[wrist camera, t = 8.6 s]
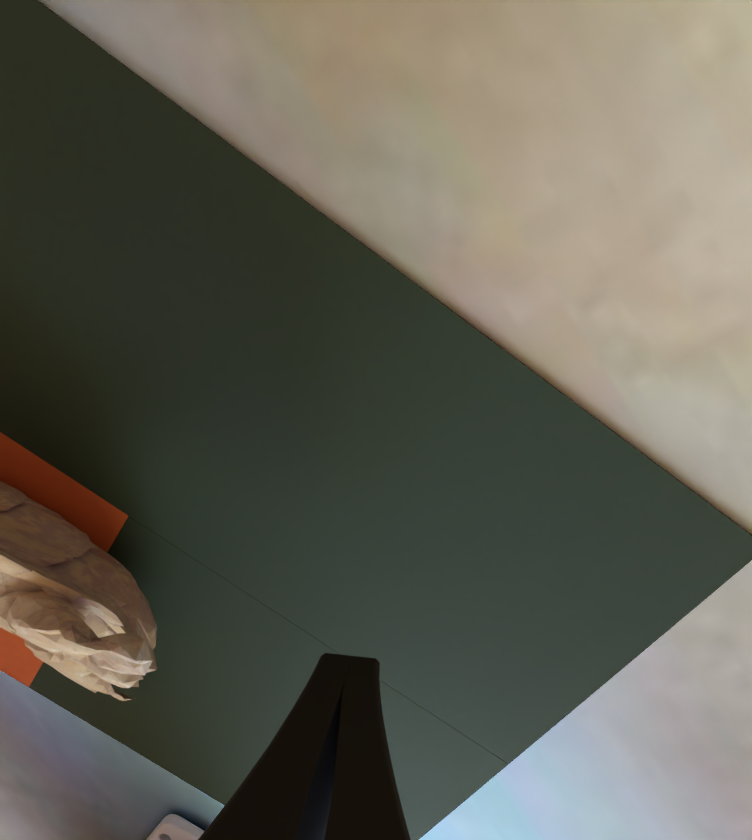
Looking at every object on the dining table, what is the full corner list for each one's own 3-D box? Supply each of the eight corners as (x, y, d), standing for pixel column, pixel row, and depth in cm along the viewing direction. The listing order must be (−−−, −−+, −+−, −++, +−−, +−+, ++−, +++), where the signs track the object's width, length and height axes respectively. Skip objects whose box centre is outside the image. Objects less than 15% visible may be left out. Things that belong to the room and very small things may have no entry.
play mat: (361, 881, 18) (361, 887, 18) (-208, 537, 16) (-215, 540, 16) (762, 543, 13) (767, 547, 12) (-38, -56, 10) (-47, -63, 10)
